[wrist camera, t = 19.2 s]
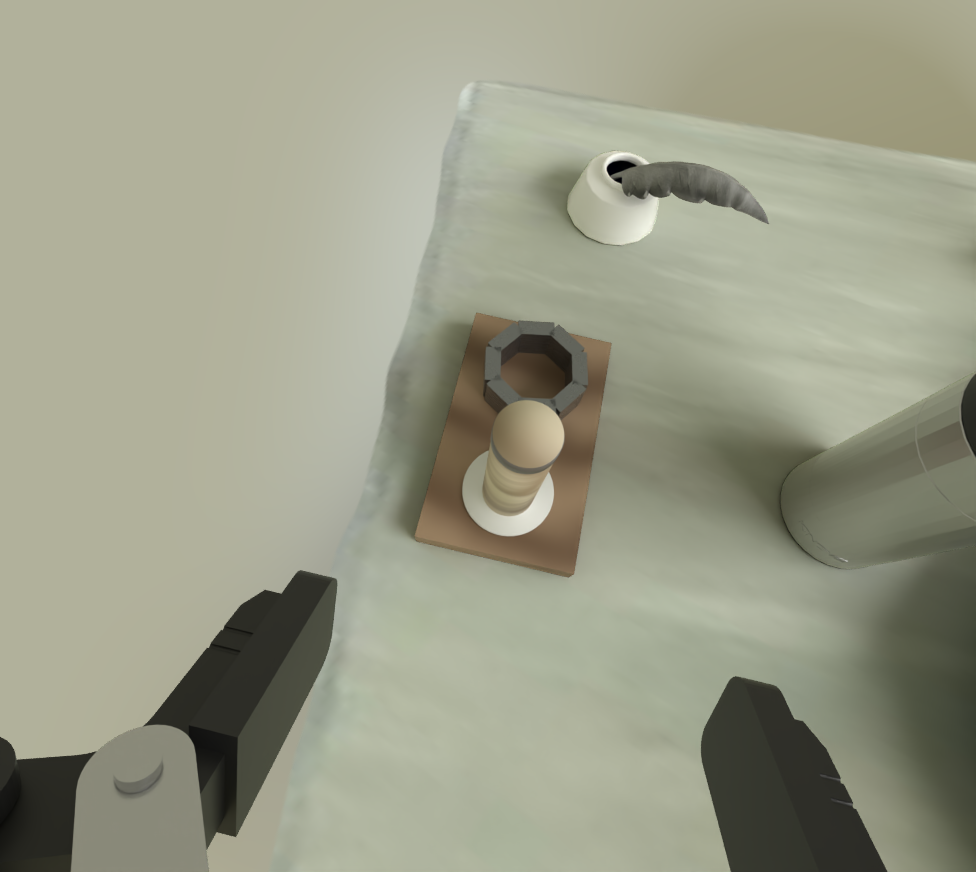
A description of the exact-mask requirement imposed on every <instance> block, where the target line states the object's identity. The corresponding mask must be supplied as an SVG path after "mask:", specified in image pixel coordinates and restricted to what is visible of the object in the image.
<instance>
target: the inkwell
mask: <svg viewBox="0 0 976 872" xmlns="http://www.w3.org/2000/svg"><path fill="white" fill-rule="evenodd" d="M671 192H672V193H673V194H674V195H675V196H677V197H678V198H680V199H683V200H685V201H689V202H693V203H702V202H703V201H704V200H706V201H708V202H709V203H711V204H713V205H717V206H723V207H732V208H734V209H735V210H737V211H740V212H743V213H746V214H748V215H750V216H752V217H754V218H756V219H758V220H760V221H762V222H764V223H767V224H769V223H768V219H767V216H766V214H765V212H764V210H763V208H762V207H761V206H760V205H759V203H758V202H757V201H756V199H755V198H754V197H753V195H752V194H751V193H750V192H749V191H748V190H747V189H746V188H745V187H744V186H743V185H741V184H740V183H739V182H738V181H737V180H735V179H734V178H733V177H731V176H730V175H728V174H726V173H724V172H722V171H719V170H716V169H714V168H711V167H709V166H705V165H701V164H695V163H684V162H657V163H652V164H650V163H649V162H647V161H646V160H645V159H644V158H643V157H640V156H638V155H635V154H633V153H630V152H625V151H616V150H614V151H610V152H605V153H601V154H599V155H598V156H596V157H595V158H593V159H592V160H591V161H590V162H589V164H588V165H587V166H586V168H585V169H584V171H583V172H582V174H581V176H580V177H579V179H578V180H577V182H576V183H575V185H574V187H573V189H572V190H571V192H570V194H569V195H568V203H567V211H568V213H569V215H570V217H571V219H572V221H573V223H574V225H575V226H576V227H577V228H578V229H579V230H580V231H581V232H582V233H583V234H584V235H585V236H587V237H589V238H591V239H593V240H596V241H598V242H600V243H603V244H611V245H625V244H629V243H633V242H637V241H639V240H640V239H642V238H643V237H645V236H646V235H647V234H649V233H650V232H651V230H652V228H653V226H654V224H655V222H656V220H657V213H658V204H659V198H663V197H667V196H669V195H670V193H671Z"/></svg>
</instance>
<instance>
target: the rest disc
mask: <svg viewBox="0 0 976 872" xmlns="http://www.w3.org/2000/svg"><path fill="white" fill-rule="evenodd" d="M488 453H489V451H486V452H485V453H483V454H481V455H480V456H479V457H477V458H476V459H475V460H474V461H473V462H472V464H471V465H470V466H469V468H468V470H467V472H466V474H465V476H464V480H463V487H462V495H463V501H464V504H465V507H466V509H467V512H468V513H469V515H470V517H471V518H472V519H473V520H474V522H476V523H477V524H478V525H479V526H480V527H481V528H483V529H484V530H486V531H488V532H490V533H493V534H495V535H500V536H507V537H508V536H519V535H522V534H526V533H528V532H530V531H532V530H533V529H535V528H536V527H538V526H539V525H540V524H541V523H542V522H543V521H544V519H545V518H546V517H547V515H548V513H549V511H550V509H551V507H552V504H553V499H554V486H553V481H552V478H551V475H550V473H549V472H548V474H547V476H546V478H545V480H544V481H543V483H542V485H541V487H540V489H539V491H538V492H537V494H536V496H535V498H534V500H533V502H532V504H531V505H530V507H529V508H528V509H527V510H526V511H524V512H523V513H521V514H519V515H516V516H503V515H499V514H497V513H495V512H494V511H492V510H491V509H490V508H489V507H488V506H487V504H486V503H485V500H484V498H483V493H482V487H483V481H484V475H485V470H486V464H487V459H488Z"/></svg>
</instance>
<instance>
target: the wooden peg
mask: <svg viewBox="0 0 976 872" xmlns="http://www.w3.org/2000/svg"><path fill="white" fill-rule="evenodd" d="M563 444H564V429H563V425H562V422H561V420H560V418H559V417H558V415H557V414H556V413H555V412H554V411H553V410H552V409H551V408H549V407H548V406H546V405H544V404H542V403H540V402H537V401H531V400H522V401H517V402H514V403H511V404H509V405H508V406H506V407H505V408H504V409H503V410H501V411H500V412H499V414H498V415H497V417H496V418H495V420H494V423H493V426H492V431H491V442H490V447H489V453H488V459H487V464H486V470H485V475H484V481H483V487H482V493H483V498H484V500H485V503H486V504H487V506H488V507H489V508H490V509H491V510H492V511H494V512H495V513H497V514H499V515H503V516H516V515H519V514H521V513H523V512H524V511H526V510H527V509H528V508H529V507H530V505H531V504H532V502H533V500H534V498H535V496H536V494H537V492H538V491H539V489H540V487H541V485H542V483H543V481H544V480H545V478H546V476H547V474H548V472H549V470H550V468H551V467H552V465H553V463H554V462H555V460H556V459H557V457H558V456H559V454H560V452H561V450H562V447H563Z"/></svg>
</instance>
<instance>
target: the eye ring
mask: <svg viewBox="0 0 976 872" xmlns="http://www.w3.org/2000/svg"><path fill="white" fill-rule="evenodd" d="M584 349H585V348H584V347H583V346H582V345H581V344H580V343H579V342H577V341H576V340H575V339H574V338H573V337H572V336H571V335H570V334H569V333H568V332H566V331H565V330H564V329H563V328H562V327H561V326H560V325H558V326H556V327H555V328H554V323H550V322H533V321H518V325H517V324H516V323H515V322H513V323H512V324H511V325H510V326H508V327H507V328H506V329H505V330H503V331H502V332H501V333H500V334H498V335H497V336H496V337H495V338H493V339H492V340H491V341H490V342H488V347H486V351H485V360H484V378H483V396H485V401H486V402H487V403H488V404H489V405H490V406H491V407H492V408H493V409H494V410H495V411H496V412H497V413H498V414H499V412H500V411H501V410H503V409H504V408H505V407H506V406H508V405H509V404H511V403H514V402H517V401H522V400H531V401H537V402H540V403H542V404H544V405H546V406H548V407H549V408H551V409H552V410H553V411H554V412H555V413H556V414H557V415H558V417H559V418H560V420H562V419H563V418H564V417H566V416H567V415H568V414H569V413H570V412H571V411H572V410H573V409H575V408H576V407H577V406H578V405H579V403H580V401H581V399H582V397H583V395H584V393H585V391H586V388H587V386H588V369H587V352H583V351H584ZM517 353H533V354H545V355H547V356H548V357H549V358H550V359H551V360H552V361H553V362H554V363H555V364H556V365H557V366H558V367H559V368H561V369H562V370H563V371H564V372H565V388H564V389H563V390H562V391H561V392H559V393H558V394H557V395H556V396H555V397H554V398H553V399H542V398H522V397H521V396H520V395H519V394H517V393H516V392H515V391H514V390H513V389H512V388H511V387H510V386H509V385H508V384H507V383H506V382H505V381H504V380H503V379H502V378H501V377H500V376H501V366H502V365H503V364H505V363H506V362H507V361H508V360H510V359H511V358H512V357H513V356H514V355H516V354H517Z"/></svg>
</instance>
